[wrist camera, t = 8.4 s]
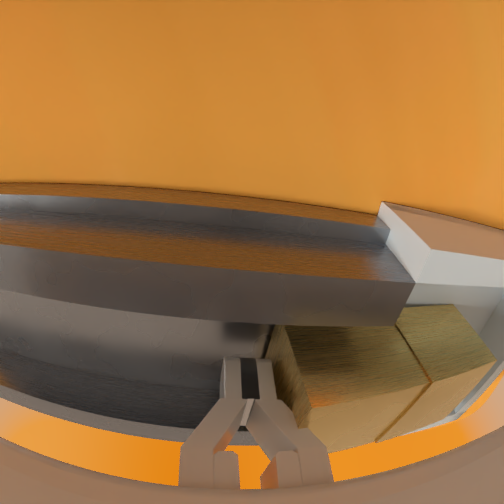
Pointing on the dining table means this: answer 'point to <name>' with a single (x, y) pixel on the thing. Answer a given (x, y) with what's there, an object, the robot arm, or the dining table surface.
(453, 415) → the tray
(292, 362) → the tan yellow cube
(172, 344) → the slot bed
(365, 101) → the dining table surface
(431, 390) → the yellow cube
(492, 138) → the dining table surface
